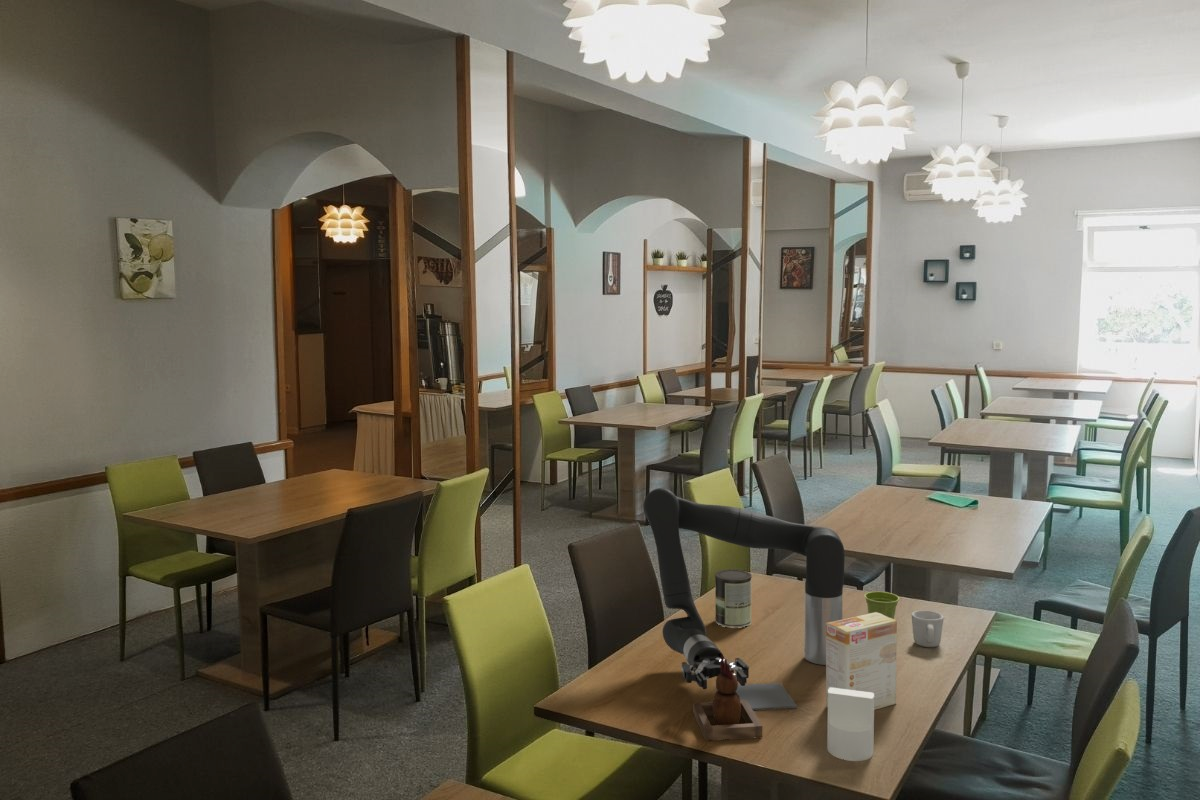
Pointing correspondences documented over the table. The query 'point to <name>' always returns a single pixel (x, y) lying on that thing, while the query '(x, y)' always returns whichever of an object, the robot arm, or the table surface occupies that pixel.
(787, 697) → the mat
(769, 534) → the robot arm
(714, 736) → the square wooden frame
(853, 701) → the base with upright slab
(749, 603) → the coffee can
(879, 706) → the coffeecake box
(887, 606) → the plant pot
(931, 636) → the cup
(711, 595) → the table surface
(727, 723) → the wooden figurine
